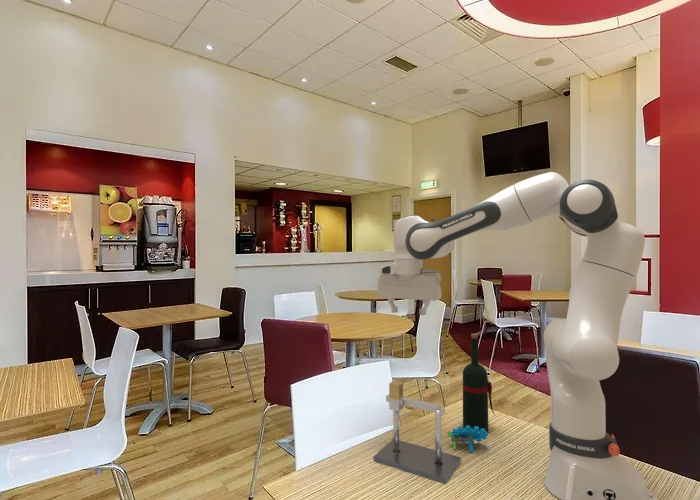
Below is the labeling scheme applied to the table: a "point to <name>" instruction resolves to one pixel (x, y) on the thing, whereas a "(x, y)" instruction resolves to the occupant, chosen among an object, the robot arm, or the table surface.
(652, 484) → the table surface
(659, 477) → the table surface
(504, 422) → the table surface
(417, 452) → the bolt plate
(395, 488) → the table surface
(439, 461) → the divider frame
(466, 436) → the gear
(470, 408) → the wine bottle
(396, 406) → the leg
